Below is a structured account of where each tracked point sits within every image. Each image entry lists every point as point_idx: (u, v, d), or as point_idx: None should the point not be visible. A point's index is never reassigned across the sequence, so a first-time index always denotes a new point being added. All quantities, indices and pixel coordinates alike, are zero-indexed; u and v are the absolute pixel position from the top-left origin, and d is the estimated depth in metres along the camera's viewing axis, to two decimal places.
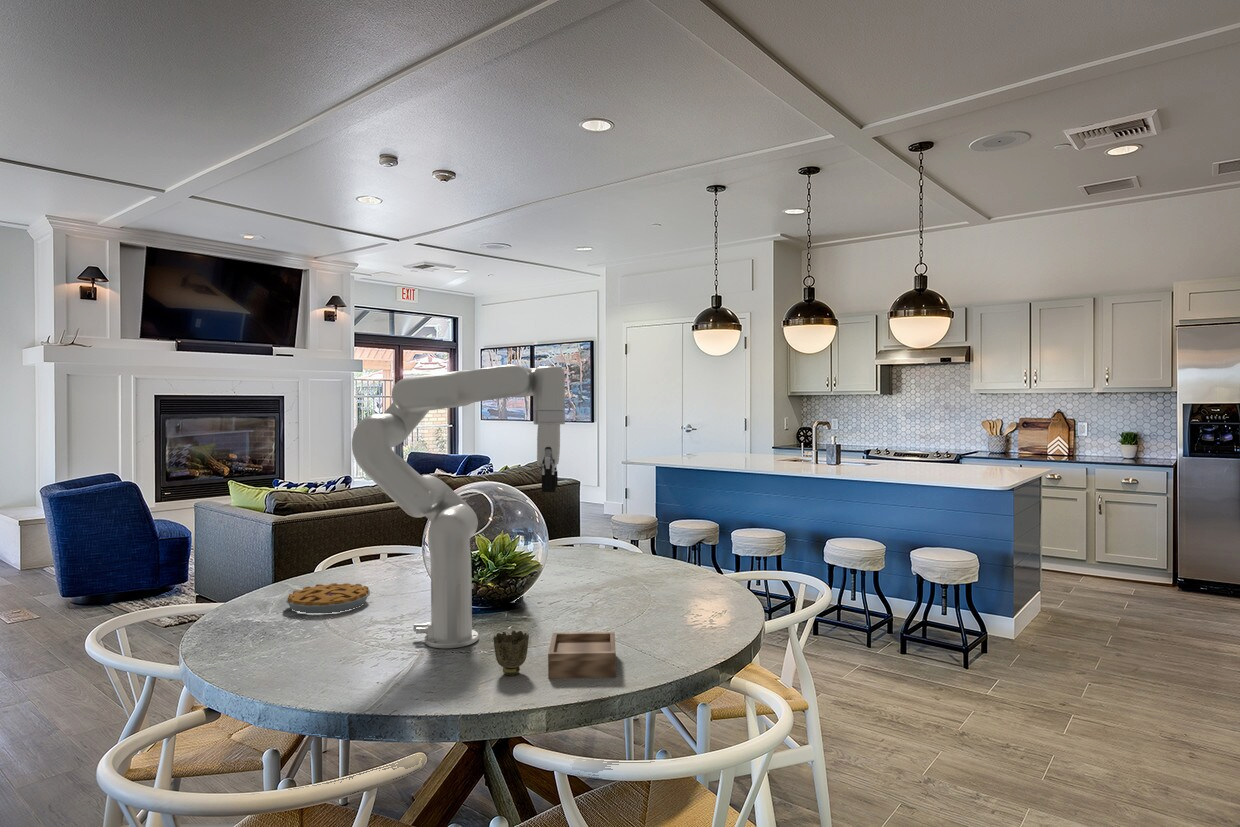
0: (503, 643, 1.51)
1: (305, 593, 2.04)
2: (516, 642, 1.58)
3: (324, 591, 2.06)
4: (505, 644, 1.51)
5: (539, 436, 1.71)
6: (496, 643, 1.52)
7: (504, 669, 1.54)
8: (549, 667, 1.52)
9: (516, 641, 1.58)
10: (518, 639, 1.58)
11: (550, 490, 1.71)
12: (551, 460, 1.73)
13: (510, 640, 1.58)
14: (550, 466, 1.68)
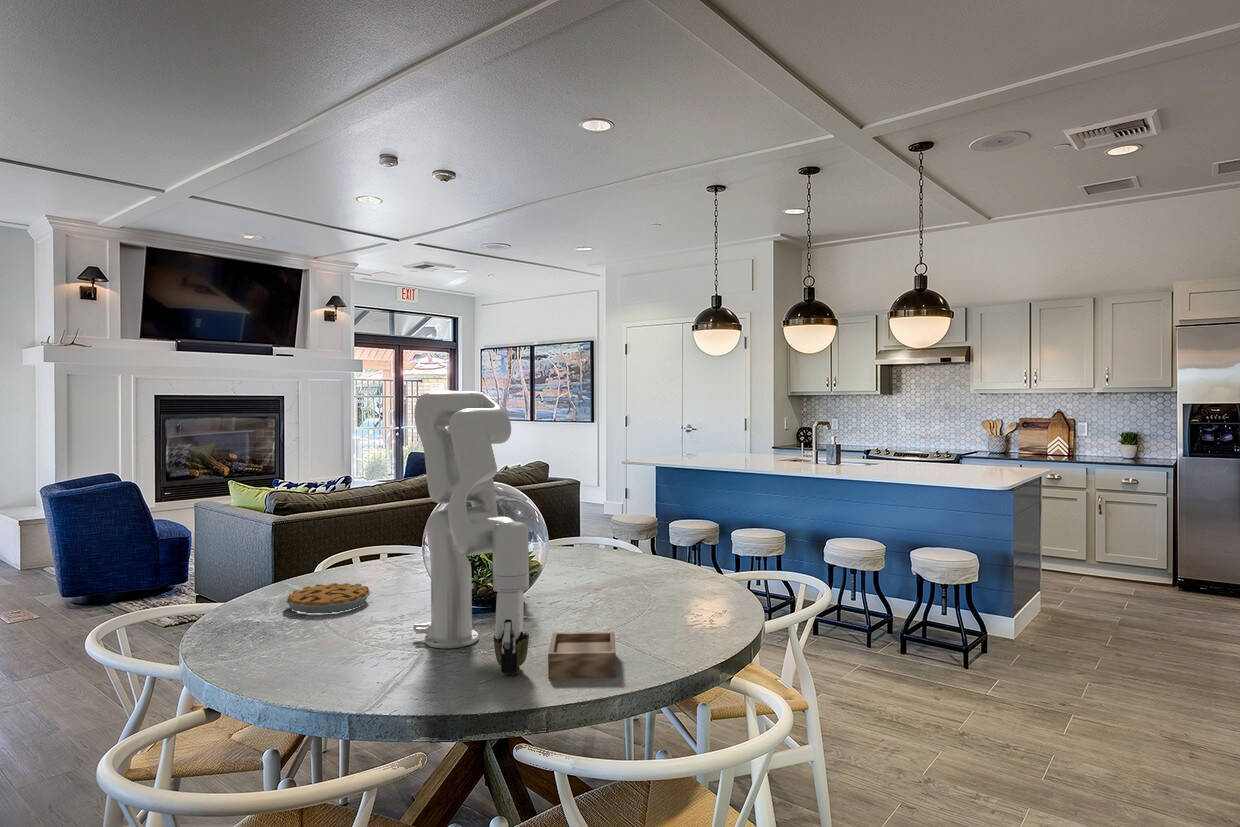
0: None
1: (305, 593, 2.04)
2: (516, 642, 1.58)
3: (324, 591, 2.06)
4: None
5: (498, 607, 1.50)
6: (496, 643, 1.53)
7: None
8: (549, 667, 1.52)
9: (516, 641, 1.58)
10: (518, 639, 1.58)
11: (511, 670, 1.51)
12: None
13: None
14: (510, 646, 1.48)
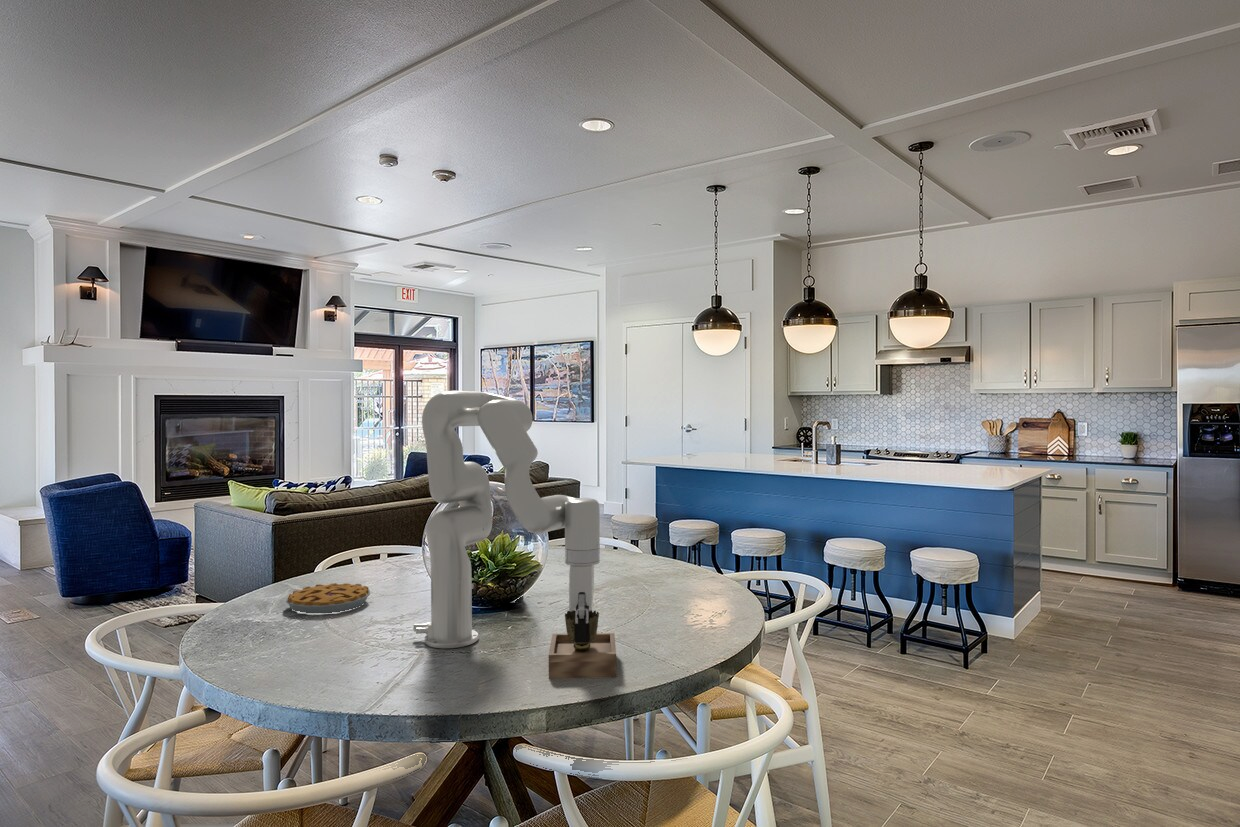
0: None
1: (305, 593, 2.04)
2: None
3: (324, 591, 2.06)
4: None
5: (572, 580, 1.54)
6: (568, 620, 1.57)
7: (575, 645, 1.59)
8: (549, 668, 1.52)
9: None
10: None
11: (584, 640, 1.54)
12: (585, 605, 1.56)
13: None
14: (584, 616, 1.52)
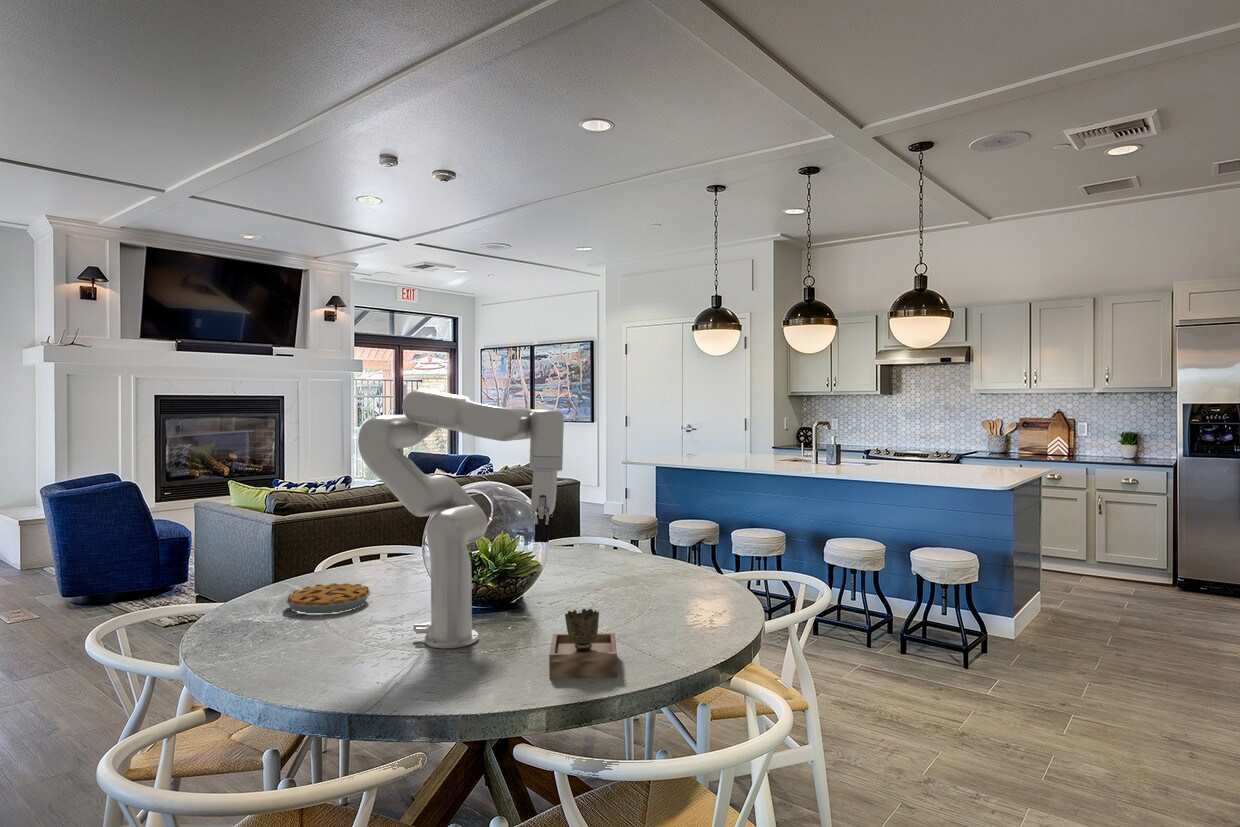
0: (575, 619, 1.56)
1: (305, 593, 2.04)
2: (587, 620, 1.63)
3: (324, 591, 2.06)
4: (577, 619, 1.56)
5: (534, 483, 1.64)
6: (568, 619, 1.57)
7: (576, 645, 1.58)
8: (550, 668, 1.52)
9: (587, 619, 1.63)
10: (588, 617, 1.62)
11: (543, 540, 1.64)
12: (546, 508, 1.65)
13: (581, 618, 1.63)
14: (544, 516, 1.61)
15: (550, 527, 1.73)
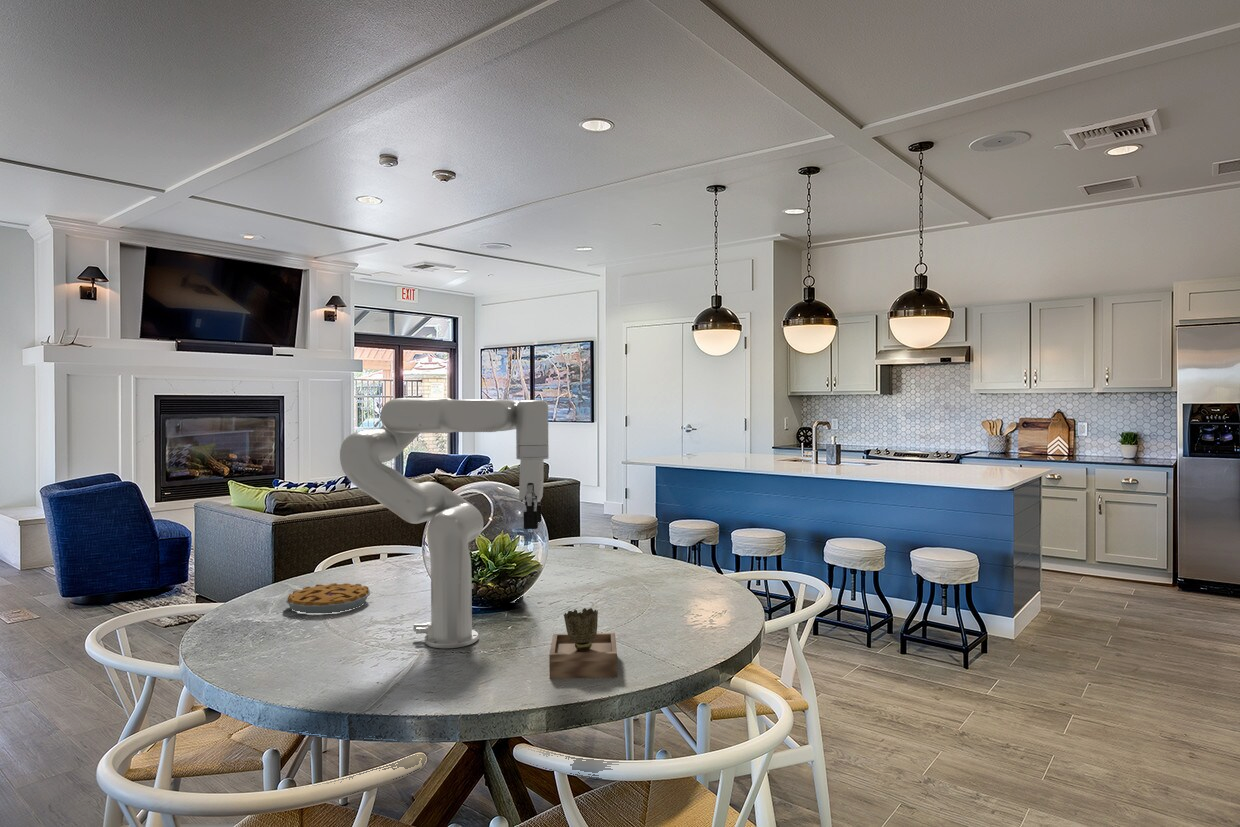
0: (572, 618, 1.56)
1: (305, 593, 2.04)
2: None
3: (324, 591, 2.06)
4: (574, 619, 1.56)
5: (521, 472, 1.68)
6: (566, 619, 1.58)
7: (576, 644, 1.59)
8: (550, 668, 1.52)
9: None
10: (589, 616, 1.63)
11: (532, 527, 1.68)
12: (534, 496, 1.69)
13: (581, 618, 1.63)
14: (532, 503, 1.65)
15: (539, 515, 1.77)
